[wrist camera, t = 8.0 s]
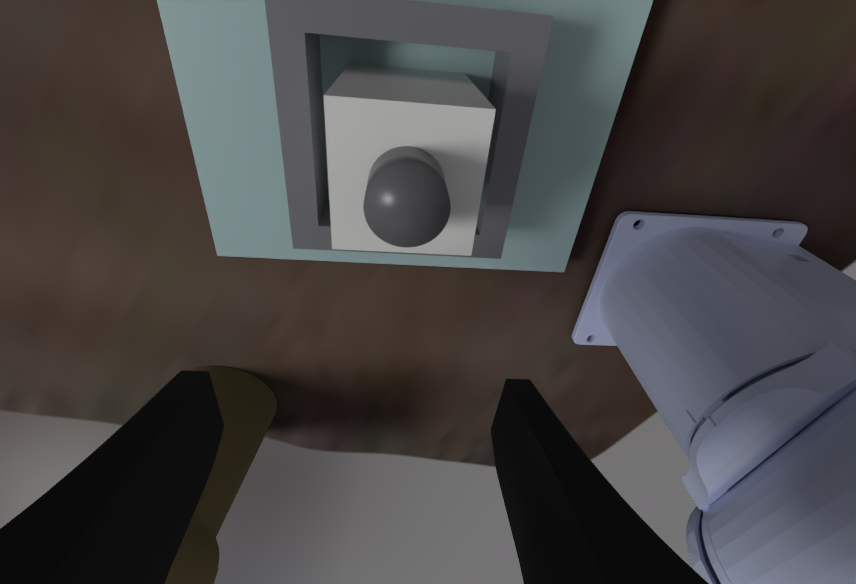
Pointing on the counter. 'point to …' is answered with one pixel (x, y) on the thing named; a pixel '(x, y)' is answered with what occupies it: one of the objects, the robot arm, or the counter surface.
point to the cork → (224, 469)
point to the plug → (405, 159)
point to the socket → (408, 48)
